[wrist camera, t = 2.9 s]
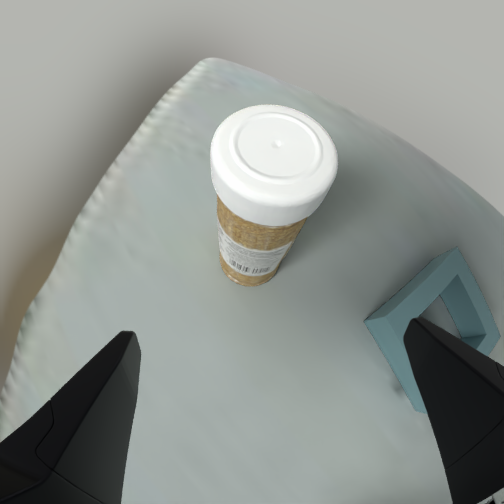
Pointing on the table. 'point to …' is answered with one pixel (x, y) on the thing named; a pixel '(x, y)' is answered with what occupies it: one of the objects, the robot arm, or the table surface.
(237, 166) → the sprinkles bottle
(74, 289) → the table surface
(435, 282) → the holder
